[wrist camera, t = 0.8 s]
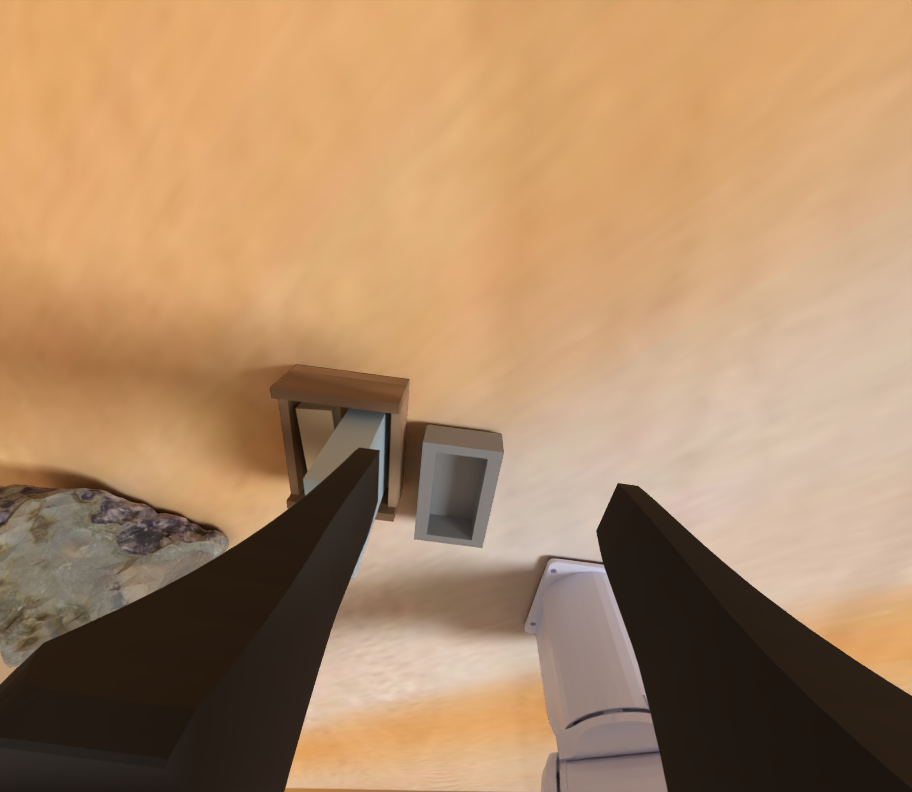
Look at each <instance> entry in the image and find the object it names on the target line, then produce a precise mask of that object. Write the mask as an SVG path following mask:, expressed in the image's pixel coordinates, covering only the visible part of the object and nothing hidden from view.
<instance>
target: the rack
mask: <svg viewBox="0 0 912 792" xmlns="http://www.w3.org/2000/svg"><path fill="white" fill-rule="evenodd" d="M270 391H271V398H277V399H278V401H279V409H280V416H281V423H282V431H283V438H284V445H285V453H286V460H287V468H288V475H289V482H290V490H291V495H290V496H289V498H288V499H287V508H290V507H291V506H293V505H294V504H295V503H297V502H298V501H299V500H300V499H302V498H303V497H304V496H305V491H304V482H303V478H304V477H305V475H306V474H307V472H308V471H307V466H306V461H305V456H304V450H303V445H302V440H301V435H300V429H299V424H298V419H297V413H296V407H297V406H298V405H299V404H300V403H301V402H307V403H315V404H323V405H330V406H338V407H345V414H346V412H347V411H348V409H349V408H353V409H361V410H368V411H376V412H384V413H390V430H389V458H388V481H387V484H386V487H385V490H384V493H383V496H382V499H381V502H380V505H379V508H378V511H377V514H376V517H375V519H377V520H384V521H392V522H394V518H395V514H396V511H397V507H398V503H399V500H400V496H401V492H402V489H403V475H404V459H405V443H406V427H407V411H408V395H409V379H403V378H395V377H388V376H380V375H373V374H365V373H357V372H350V371H342V370H334V369H327V368H319V367H312V366H304V365H296V366H295V367H293V368H292V369H291V370H290V371H289V372H288V373H286V374H285V375H284V376H283V377H282V378H280V379H279V380H278V381H277V382H276V383H275V384H273V385H272V386H271V387H270Z"/></svg>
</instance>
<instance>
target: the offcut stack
mask: <svg viewBox="0 0 912 792" xmlns="http://www.w3.org/2000/svg"><path fill="white" fill-rule="evenodd" d="M296 413H297V419H298V424H299V429H300V435H301V440H302V445H303V450H304V456H305V461H306V466H307V471H309V469H310V467H311V466H312V464H313V463H314V461H315V460H316V458H317V457H318V455H319V454H320V452H321V451H322V449H323V447H324V446H325V444H326V443H327V441H328V440H329V438H330V437H331V435H332V434H333V432H334V431H335V429H336V427H337V426H338V424H339V423H340V421H341V420H342V418H343V417H344V415H345V407H338V406H330V405H323V404H315V403H307V402H301V403H300V404H299V405H298V406H297V407H296Z"/></svg>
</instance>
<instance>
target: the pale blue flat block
mask: <svg viewBox="0 0 912 792" xmlns="http://www.w3.org/2000/svg"><path fill="white" fill-rule="evenodd" d="M389 430H390V413H384V412H376V411H368V410H361V409H353V408H349V409H348V411H347V412H346V414H345V415H344V417H343V418H342V420H341V421H340V423H339V424H338V426H337V427H336V429H335V431H334V432H333V434H332V435H331V437H330V438H329V440H328V441H327V443H326V444H325V446H324V447H323V449H322V451H321V452H320V454H319V455H318V457H317V458H316V460H315V461H314V463H313V464H312V466H311V467H310V469H309V471H308V472H307V474H306V475H305V477H304V478H303V482H304V491H305V495H307V494H308V493H309V492H310V491H311V490H313V489H314V488H315V487H316V486H317V485H318V484H319V483H321V482H322V481H323V480H324V479H325V478H326V477H327V476H329V475H330V474H331V473H332V472H333V471H334V470H335V469H336V468H337V467H338V466H339V465H341V464H342V463H343V462H344V461H345V460H346V459H347V458H348V457H349V456H350V455H351V454H352V453H353V452H354V451H355V450H356V449H358V448H359V447H360V448H367V449H375V450H380V455H379V485H378V503H377V506H376V510H375V514H374V517H373V521H372V524H371V528H370V531H369V534H368V537H367V539H366V542H365V544H364V547H363V549H362V552H361V554H360V557H359V559H358V562H357V564H356V567H355V569H354V572H353V574H352V577H351V579H355V577H356V574H357V571H358V568H359V565H360V562H361V559H362V556H363V553H364V550H365V547H366V544H367V541H368V538H369V535H370V532H371V529H372V526H373V523H374V520H375V517H376V514H377V511H378V508H379V505H380V502H381V499H382V496H383V493H384V490H385V487H386V484H387V481H388V458H389Z"/></svg>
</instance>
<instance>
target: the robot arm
mask: <svg viewBox="0 0 912 792" xmlns="http://www.w3.org/2000/svg"><path fill="white" fill-rule="evenodd" d="M379 455H380V450H375V449H367V448H360V447H359V448H358V449H356V450H355V451H354V452H353V453H352V454H351V455H350V456H349V457H348V458H347V459H346V460H345V461H344V462H343V463H342V464H341V465H339V466H338V467H337V468H336V469H335V470H334V471H333V472H332V473H331V474H330V475H329V476H327V477H326V478H325V479H324V480H323V481H322V482H321V483H319V484H318V485H317V486H316V487H315V488H314V489H313V490H311V491H310V492H309V493H308V494H307V495H305V496H304V497H303V498H302V499H300V500H299V501H298V502H297V503H295V504H294V505H293V506H291V507H290V508H289V509H288V510H286V511H285V512H284V513H283V514H281V515H280V516H279V517H277V518H276V519H274V520H273V521H272V522H270V523H269V524H267V525H266V526H265V527H263V528H262V529H260V530H259V531H257V532H256V533H254V534H253V535H251V536H250V537H248V538H247V539H245V540H244V541H242V542H241V543H239V544H238V545H236V546H234V547H233V548H231V549H229V550H228V551H226V552H225V553H223V554H221V555H220V556H218V557H216V558H215V559H213V560H211V561H209V562H208V563H206V564H204V565H203V566H201V567H199V568H198V569H196V570H194V571H192V572H190V573H189V574H187V575H185V576H183V577H181V578H179V579H177V580H175V581H174V582H172V583H170V584H168V585H166V586H164V587H162V588H160V589H158V590H156V591H154V592H152V593H150V594H148V595H146V596H144V597H142V598H140V599H138V600H136V601H134V602H132V603H130V604H128V605H126V606H124V607H122V608H120V609H118V610H115V611H113V612H111V613H109V614H107V615H104V616H102V617H100V618H98V619H96V620H93V621H91V622H89V623H87V624H85V625H82V626H80V627H78V628H76V629H74V630H71V631H69V632H67V633H65V634H63V635H60V636H58V637H56V638H53V639H51V640H49V641H46V642H44V643H43V644H42V645H41V646H40V647H39V648H37V649H36V650H35V651H34V652H33V653H32V654H31V655H30V656H29V657H28V658H27V659H26V660H25V661H24V662H23V663H22V664H21V665H20V666H19V667H17V668H16V669H15V671H13V672H12V673H11V674H10V675H9V676H8V677H7V678H6V680H4V681H3V682H2V683H1V684H0V792H284V791H285V787H286V783H287V779H288V776H289V772H290V768H291V765H292V761H293V758H294V754H295V751H296V747H297V744H298V740H299V737H300V733H301V730H302V726H303V722H304V719H305V715H306V712H307V708H308V705H309V702H310V698H311V695H312V692H313V688H314V685H315V681H316V678H317V675H318V671H319V668H320V665H321V661H322V658H323V655H324V652H325V648H326V645H327V642H328V639H329V635H330V632H331V629H332V626H333V623H334V620H335V617H336V614H337V612H338V609H339V606H340V604H341V601H342V599H343V596H344V594H345V591H346V589H347V586H348V584H349V581H350V579H351V577H352V574H353V572H354V569H355V567H356V564H357V562H358V559H359V557H360V554H361V552H362V549H363V547H364V544H365V542H366V539H367V537H368V534H369V531H370V528H371V524H372V521H373V517H374V514H375V510H376V506H377V503H378V485H379ZM596 532H597V537H598V542H599V547H600V552H601V556H602V560H603V564H595V563H588V562H580V561H572V560H564V559H556V558H553V559H550V560H549V561H548V562H547V565H546V568H545V571H544V573H543V576H542V579H541V582H540V584H539V587H538V590H537V593H536V595H535V598H534V601H533V603H532V606H531V609H530V612H529V614H528V617H527V620H526V623H525V625H524V629H525V632H526V633H529V634H536V638H537V645H538V653H539V660H540V667H541V675H542V682H543V689H544V697H545V704H546V711H547V716H548V720H549V723H550V725H551V728H552V730H553V732H554V734H555V736H556V741H557V748H558V752H555V753H551V754H550V755H549V756H548V759H547V763H546V766H545V768H544V770H543V773H542V781H541V792H912V696H911V695H909V694H908V693H906V692H904V691H903V690H901V689H900V688H898V687H896V686H895V685H893V684H892V683H890V682H888V681H887V680H885V679H884V678H882V677H881V676H879V675H877V674H876V673H874V672H873V671H871V670H870V669H868V668H867V667H865V666H863V665H862V664H860V663H859V662H857V661H856V660H854V659H853V658H851V657H850V656H848V655H847V654H845V653H844V652H843V651H841V650H840V649H838V648H837V647H835V646H834V645H832V644H831V643H829V642H828V641H826V640H825V639H823V638H822V637H820V636H819V635H818V634H816V633H815V632H813V631H812V630H810V629H809V628H808V627H806V626H805V625H803V624H802V623H801V622H799V621H798V620H796V619H795V618H794V617H792V616H791V615H790V614H788V613H787V612H786V611H784V610H783V609H782V608H780V607H779V606H778V605H776V604H775V603H774V602H772V601H771V600H770V599H768V598H767V597H766V596H764V595H763V594H762V593H761V592H759V591H758V590H757V589H756V588H754V587H753V586H752V585H750V584H749V583H748V582H747V581H746V580H744V579H743V578H742V577H741V576H740V575H738V574H737V573H736V572H735V571H734V570H732V569H731V568H730V567H729V566H728V565H726V564H725V563H724V562H723V561H722V560H720V559H719V558H718V557H717V556H716V555H715V554H714V553H712V552H711V551H710V550H709V549H708V548H707V547H706V546H704V545H703V544H702V543H701V542H700V541H699V540H698V539H697V538H695V537H694V536H693V535H692V534H691V533H690V532H689V531H688V530H687V529H686V528H684V527H683V526H682V525H681V524H680V523H679V522H678V521H677V520H676V519H675V518H674V517H672V516H671V515H670V514H669V513H668V512H667V511H666V510H665V509H664V508H663V507H662V506H660V505H659V504H658V503H657V502H656V501H655V500H654V499H653V498H652V497H650V496H649V495H648V494H647V493H646V492H645V491H643V490H642V489H641V488H640V487H639V486H634V485H627V484H620V483H618V484H617V486H616V489H615V491H614V493H613V495H612V497H611V500H610V502H609V504H608V506H607V508H606V511H605V513H604V515H603V517H602V520H601V522H600V524H599V526H598V528H597V531H596Z"/></svg>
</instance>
